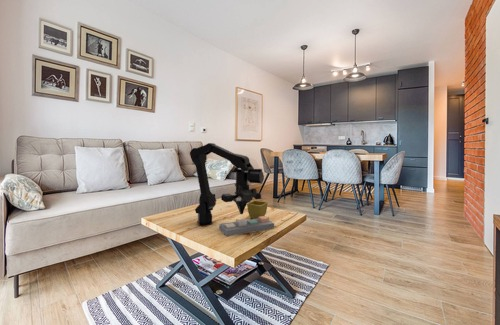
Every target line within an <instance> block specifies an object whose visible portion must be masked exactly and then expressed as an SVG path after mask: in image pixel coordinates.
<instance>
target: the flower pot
mask: <svg viewBox="0 0 500 325" xmlns="http://www.w3.org/2000/svg"><path fill="white" fill-rule="evenodd" d="M246 206H247V207H246V208H247V213H248V215H249V218H251V219H258V217H261V216H266V213H267V211H268V202H267V201H260V200H251V201H250V202H248V203H247V204H246ZM251 219H250V220H251Z"/></svg>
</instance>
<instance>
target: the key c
mask: <svg viewBox="0 0 500 325" xmlns="http://www.w3.org/2000/svg"><path fill="white" fill-rule="evenodd" d="M248 220H249V221H247V223H248V224H250V225H253V224H258V222H257V221H255V220H251V219H248Z"/></svg>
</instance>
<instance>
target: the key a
mask: <svg viewBox="0 0 500 325" xmlns="http://www.w3.org/2000/svg"><path fill="white" fill-rule="evenodd" d="M227 223H228V224H224V226H225V227H226V228H234V227H235V225H234V224H233V223H230V222H227Z"/></svg>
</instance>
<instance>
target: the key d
mask: <svg viewBox="0 0 500 325" xmlns="http://www.w3.org/2000/svg"><path fill="white" fill-rule="evenodd" d="M269 221H270V220H269V217H268V216H266V215H265V216H261V217H258V222H260V223H266V222H269Z"/></svg>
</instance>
